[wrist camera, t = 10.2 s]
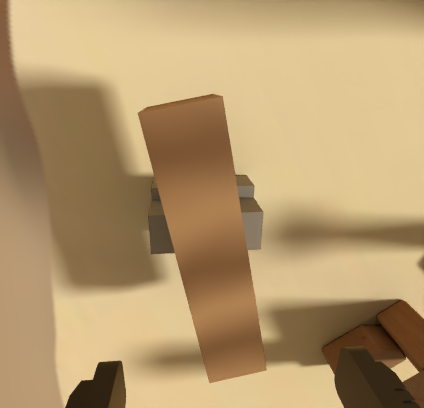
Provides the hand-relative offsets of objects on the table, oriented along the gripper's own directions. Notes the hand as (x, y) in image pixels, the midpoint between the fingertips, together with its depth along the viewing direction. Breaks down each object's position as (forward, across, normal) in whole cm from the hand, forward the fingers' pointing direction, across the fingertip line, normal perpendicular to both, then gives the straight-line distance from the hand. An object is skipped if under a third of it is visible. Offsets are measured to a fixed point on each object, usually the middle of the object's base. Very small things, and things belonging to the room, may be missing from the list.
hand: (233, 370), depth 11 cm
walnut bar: (+11, 0, 0) cm, 11 cm away
